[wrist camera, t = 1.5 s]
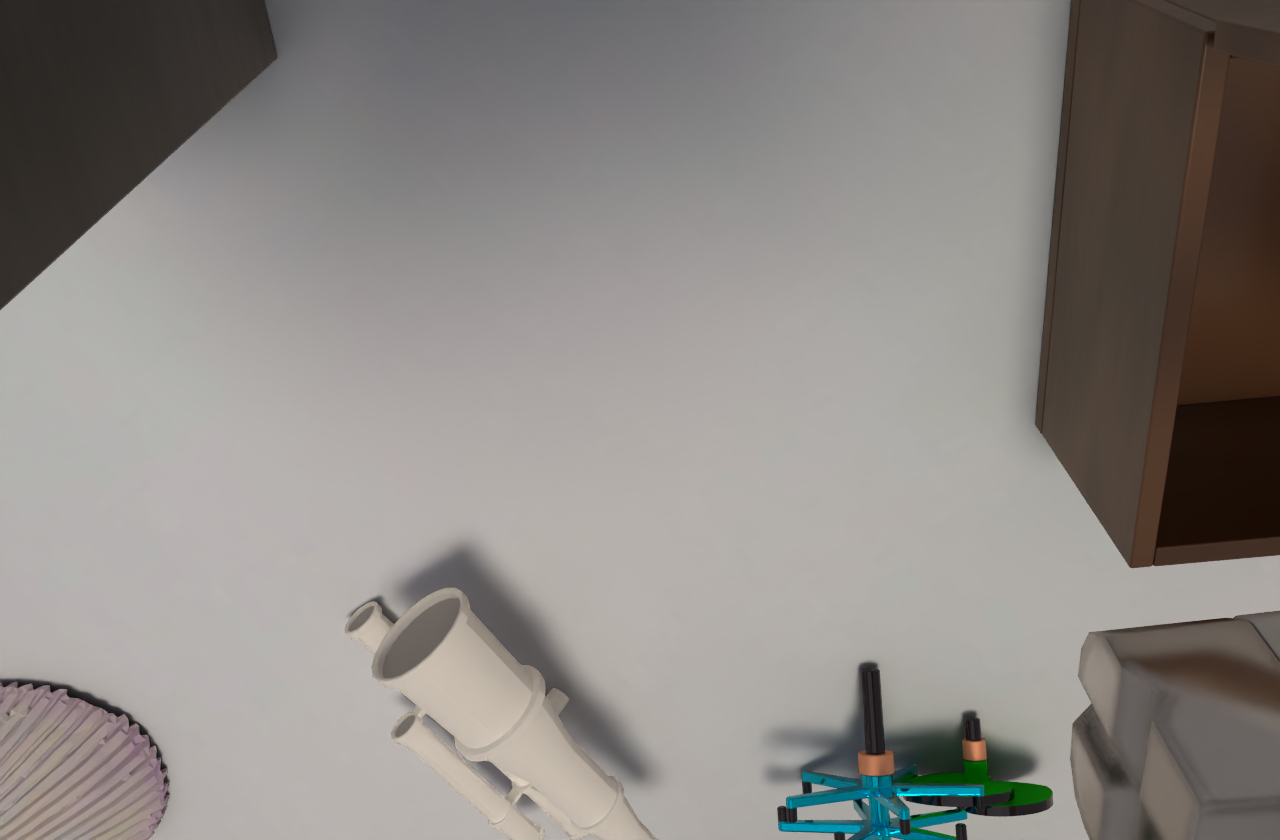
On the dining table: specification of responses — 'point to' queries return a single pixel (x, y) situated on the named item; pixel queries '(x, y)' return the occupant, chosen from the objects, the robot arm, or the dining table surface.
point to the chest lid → (1250, 38)
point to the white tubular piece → (490, 720)
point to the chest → (1167, 283)
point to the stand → (105, 107)
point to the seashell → (74, 770)
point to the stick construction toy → (909, 787)
